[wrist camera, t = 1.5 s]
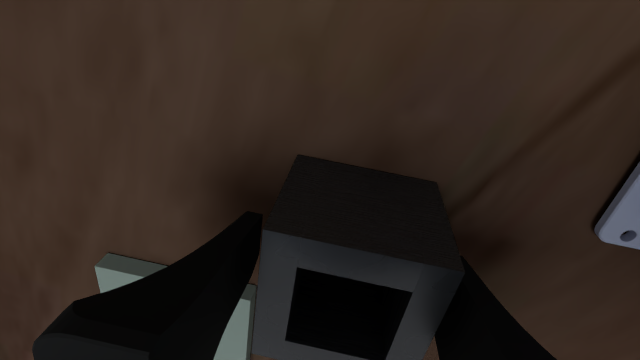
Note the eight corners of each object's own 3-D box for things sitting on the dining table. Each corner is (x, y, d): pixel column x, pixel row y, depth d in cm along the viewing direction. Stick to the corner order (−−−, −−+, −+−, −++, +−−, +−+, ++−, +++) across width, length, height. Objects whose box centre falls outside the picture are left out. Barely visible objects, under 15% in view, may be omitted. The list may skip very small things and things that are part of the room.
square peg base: (256, 285, 18) (223, 368, 14) (248, 375, 22) (220, 460, 18) (107, 252, 18) (34, 325, 14) (126, 347, 22) (73, 424, 18)
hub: (436, 182, 14) (465, 272, 9) (398, 283, 16) (407, 389, 12) (297, 154, 14) (263, 229, 10) (283, 258, 17) (251, 353, 12)
